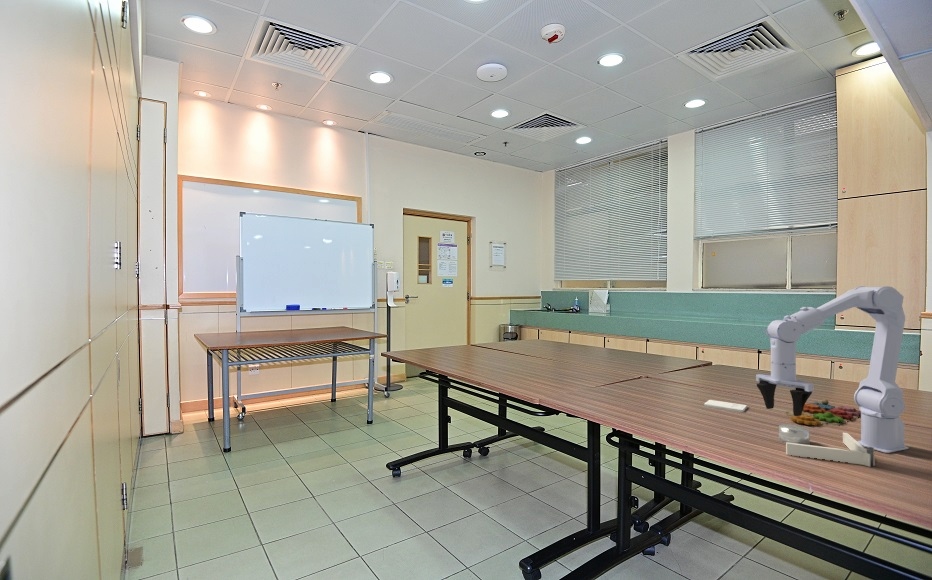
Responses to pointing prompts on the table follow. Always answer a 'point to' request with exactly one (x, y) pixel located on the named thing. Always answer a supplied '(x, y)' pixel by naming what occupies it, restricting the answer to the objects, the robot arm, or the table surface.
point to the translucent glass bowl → (794, 434)
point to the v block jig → (835, 452)
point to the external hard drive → (725, 405)
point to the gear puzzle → (824, 414)
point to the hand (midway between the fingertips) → (783, 411)
